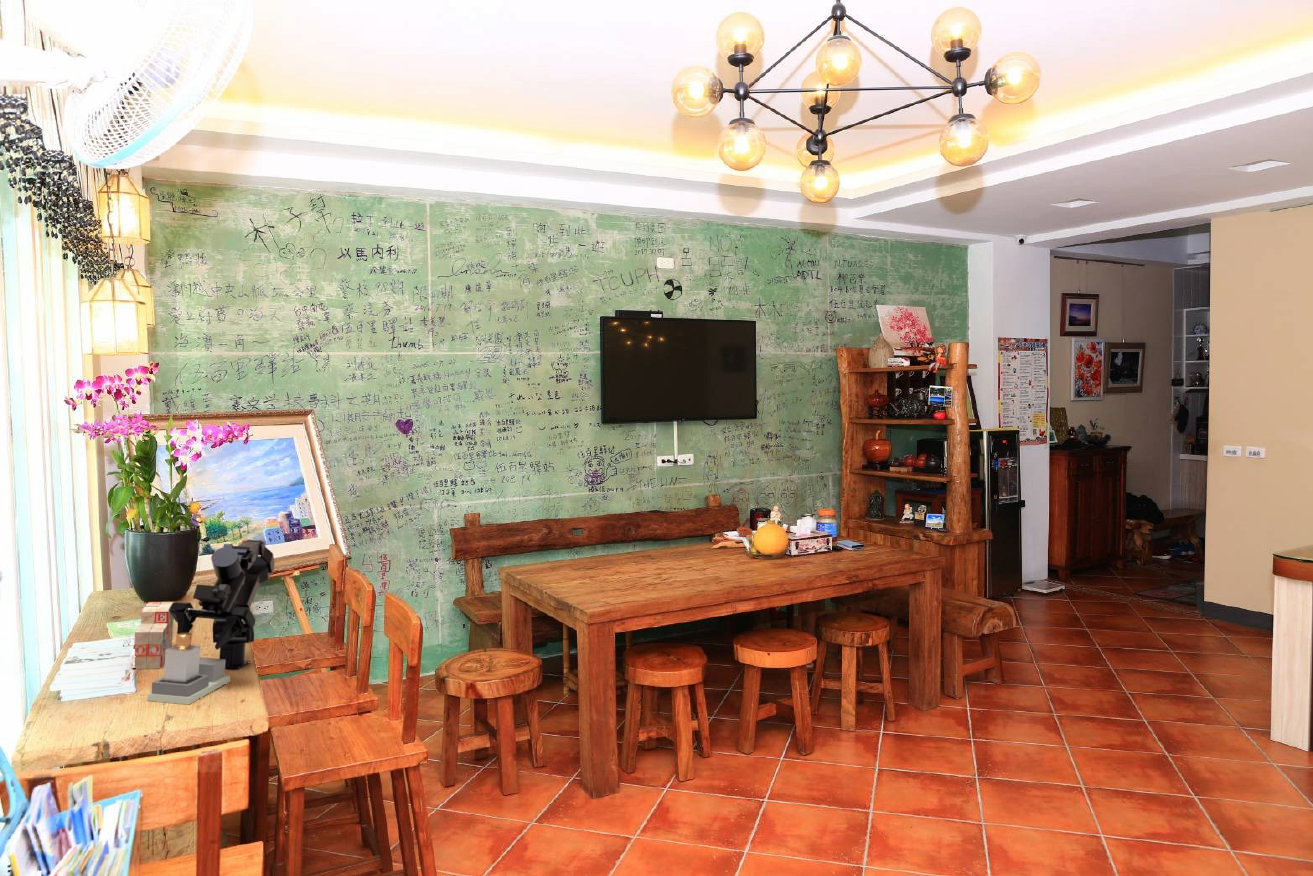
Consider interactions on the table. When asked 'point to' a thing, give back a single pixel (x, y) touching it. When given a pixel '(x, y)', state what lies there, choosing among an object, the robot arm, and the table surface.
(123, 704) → the table surface
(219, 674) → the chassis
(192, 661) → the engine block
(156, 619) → the stack of blocks
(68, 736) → the table surface
